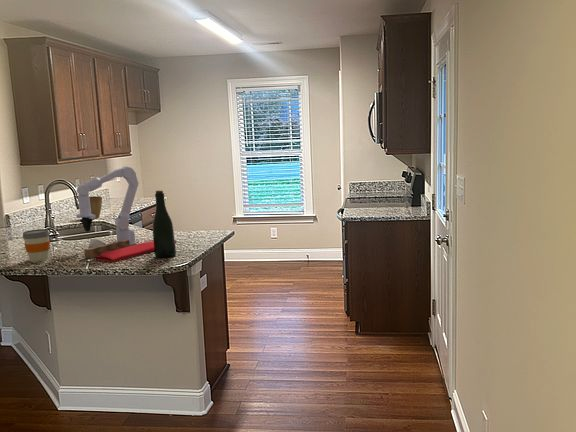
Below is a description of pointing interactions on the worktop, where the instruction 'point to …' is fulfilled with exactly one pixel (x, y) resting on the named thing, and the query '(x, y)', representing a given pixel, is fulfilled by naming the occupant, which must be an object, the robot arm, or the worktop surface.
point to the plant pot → (96, 205)
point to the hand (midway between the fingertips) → (87, 231)
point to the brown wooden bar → (105, 248)
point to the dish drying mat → (127, 252)
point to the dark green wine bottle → (163, 229)
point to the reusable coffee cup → (37, 244)
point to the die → (96, 242)
